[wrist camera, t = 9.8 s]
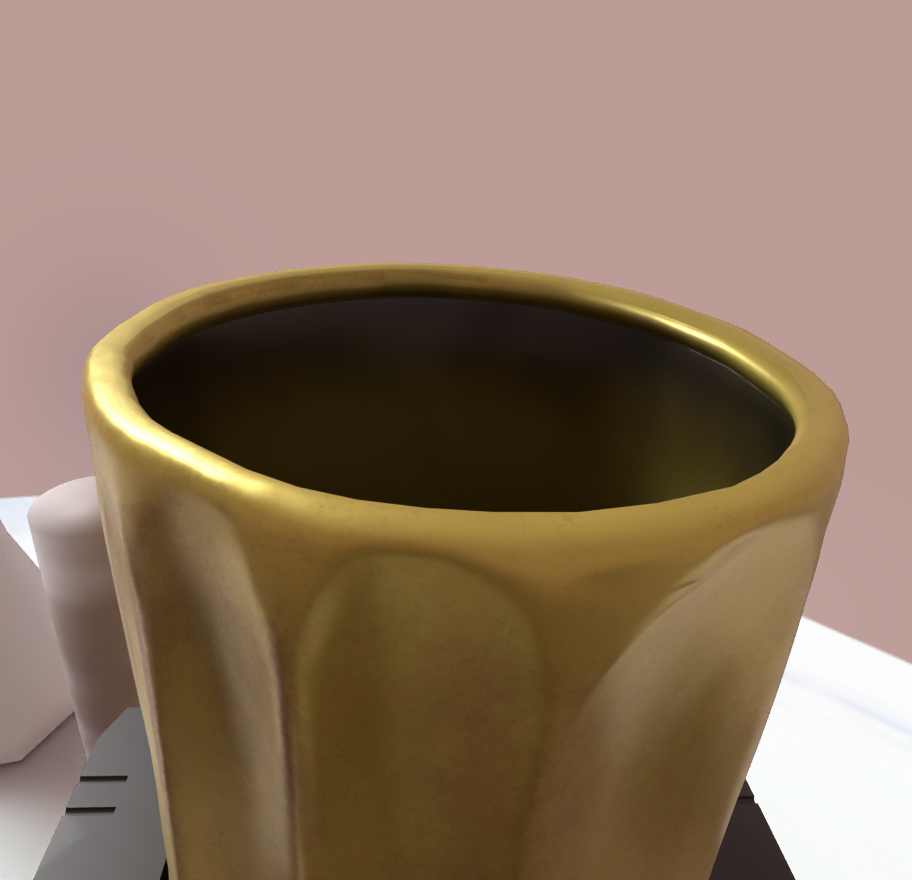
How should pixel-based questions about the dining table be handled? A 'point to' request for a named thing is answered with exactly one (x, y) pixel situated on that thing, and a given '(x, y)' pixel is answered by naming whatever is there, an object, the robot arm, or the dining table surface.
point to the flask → (27, 657)
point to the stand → (83, 605)
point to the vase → (453, 568)
